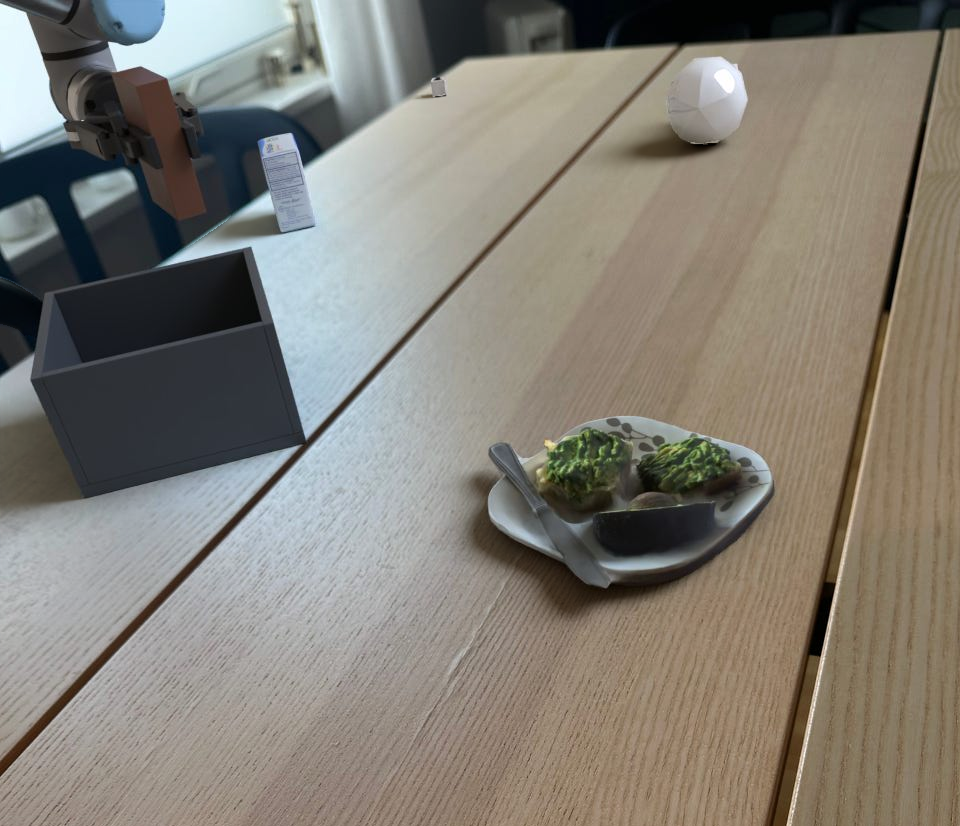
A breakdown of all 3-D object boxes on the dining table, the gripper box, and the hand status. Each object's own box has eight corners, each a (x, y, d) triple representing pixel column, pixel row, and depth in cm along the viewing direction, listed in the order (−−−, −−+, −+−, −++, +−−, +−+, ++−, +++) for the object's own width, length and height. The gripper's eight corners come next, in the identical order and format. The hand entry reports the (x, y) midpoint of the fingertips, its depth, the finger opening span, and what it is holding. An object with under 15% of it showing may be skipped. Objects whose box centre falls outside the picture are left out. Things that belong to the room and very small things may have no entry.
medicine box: (317, 226, 119) (299, 148, 114) (280, 234, 119) (260, 156, 113) (310, 206, 125) (293, 131, 120) (275, 214, 125) (255, 138, 119)
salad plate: (413, 521, 70) (401, 463, 67) (582, 410, 78) (578, 355, 75) (635, 630, 58) (633, 567, 55) (805, 487, 67) (811, 425, 64)
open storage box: (83, 498, 78) (29, 379, 72) (89, 400, 91) (44, 292, 85) (306, 442, 80) (273, 322, 74) (281, 354, 93) (251, 246, 87)
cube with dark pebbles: (446, 95, 158) (443, 78, 157) (432, 97, 159) (430, 80, 157) (447, 92, 160) (445, 74, 158) (434, 94, 160) (431, 76, 159)
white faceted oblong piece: (686, 170, 121) (708, 146, 133) (757, 114, 116) (774, 94, 127) (641, 102, 119) (668, 84, 130) (711, 41, 113) (733, 28, 124)
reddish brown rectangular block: (178, 221, 99) (135, 86, 92) (152, 201, 106) (111, 73, 98) (206, 212, 100) (167, 78, 93) (180, 193, 107) (140, 65, 99)
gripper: (191, 127, 116) (263, 167, 100) (53, 165, 111) (105, 213, 95) (170, 54, 111) (242, 83, 95) (24, 90, 106) (74, 127, 90)
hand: (174, 148), depth 95 cm, fingers closed on reddish brown rectangular block, 3 cm apart
